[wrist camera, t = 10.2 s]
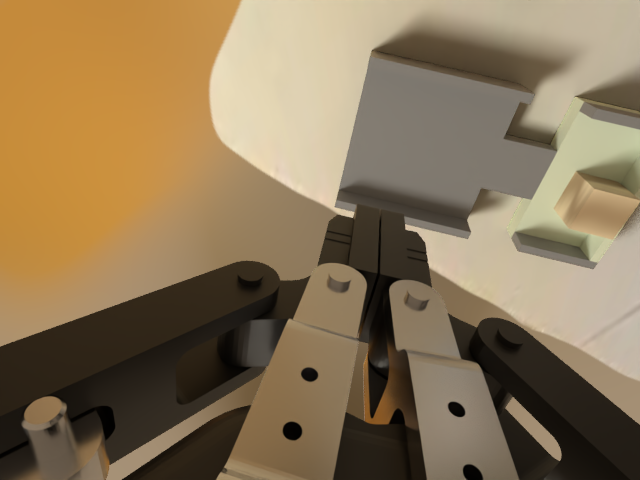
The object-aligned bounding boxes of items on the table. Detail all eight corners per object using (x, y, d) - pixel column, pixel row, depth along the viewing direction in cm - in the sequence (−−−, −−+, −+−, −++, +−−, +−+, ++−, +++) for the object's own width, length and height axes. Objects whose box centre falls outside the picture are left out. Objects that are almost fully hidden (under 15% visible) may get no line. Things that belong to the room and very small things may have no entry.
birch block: (575, 171, 37) (594, 188, 34) (618, 181, 37) (641, 200, 34) (553, 208, 39) (568, 228, 36) (593, 218, 39) (612, 239, 36)
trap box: (372, 50, 36) (370, 56, 32) (658, 115, 35) (691, 130, 32) (339, 188, 44) (334, 207, 40) (575, 244, 43) (593, 269, 39)
